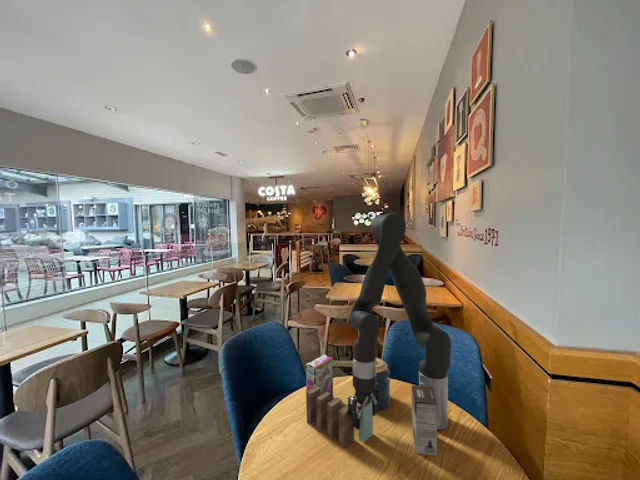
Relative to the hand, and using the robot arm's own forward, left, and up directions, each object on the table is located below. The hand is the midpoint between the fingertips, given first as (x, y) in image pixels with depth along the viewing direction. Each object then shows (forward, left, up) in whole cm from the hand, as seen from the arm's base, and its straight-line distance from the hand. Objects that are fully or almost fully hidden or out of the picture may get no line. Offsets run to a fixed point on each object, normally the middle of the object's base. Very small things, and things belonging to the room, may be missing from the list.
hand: (364, 421), depth 89 cm
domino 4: (+6, -3, -5) cm, 8 cm away
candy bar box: (-4, -24, -5) cm, 24 cm away
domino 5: (0, 0, -5) cm, 5 cm away
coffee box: (-10, +15, -5) cm, 19 cm away
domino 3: (+6, -8, -5) cm, 11 cm away
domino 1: (+6, -18, -5) cm, 19 cm away
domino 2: (+6, -13, -5) cm, 15 cm away
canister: (-18, -9, -5) cm, 21 cm away
